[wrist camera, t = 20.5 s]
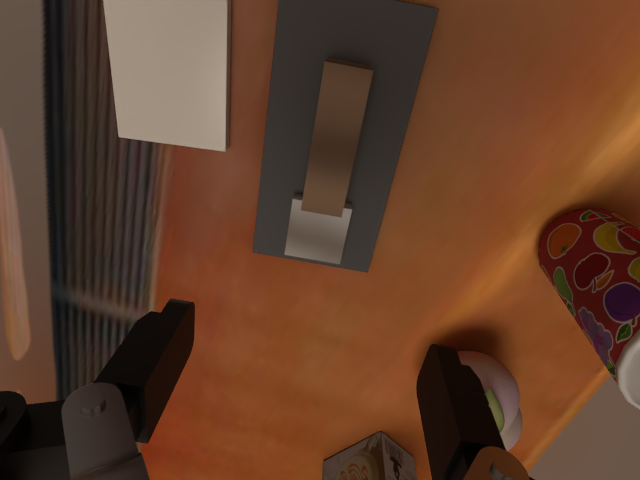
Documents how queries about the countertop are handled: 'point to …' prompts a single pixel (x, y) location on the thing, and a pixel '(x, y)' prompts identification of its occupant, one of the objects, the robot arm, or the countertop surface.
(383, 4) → the mat
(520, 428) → the decorative fruit
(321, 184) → the tan two-tone long part
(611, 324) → the smoothie
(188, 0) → the tile
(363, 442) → the coffee box
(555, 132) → the countertop surface
